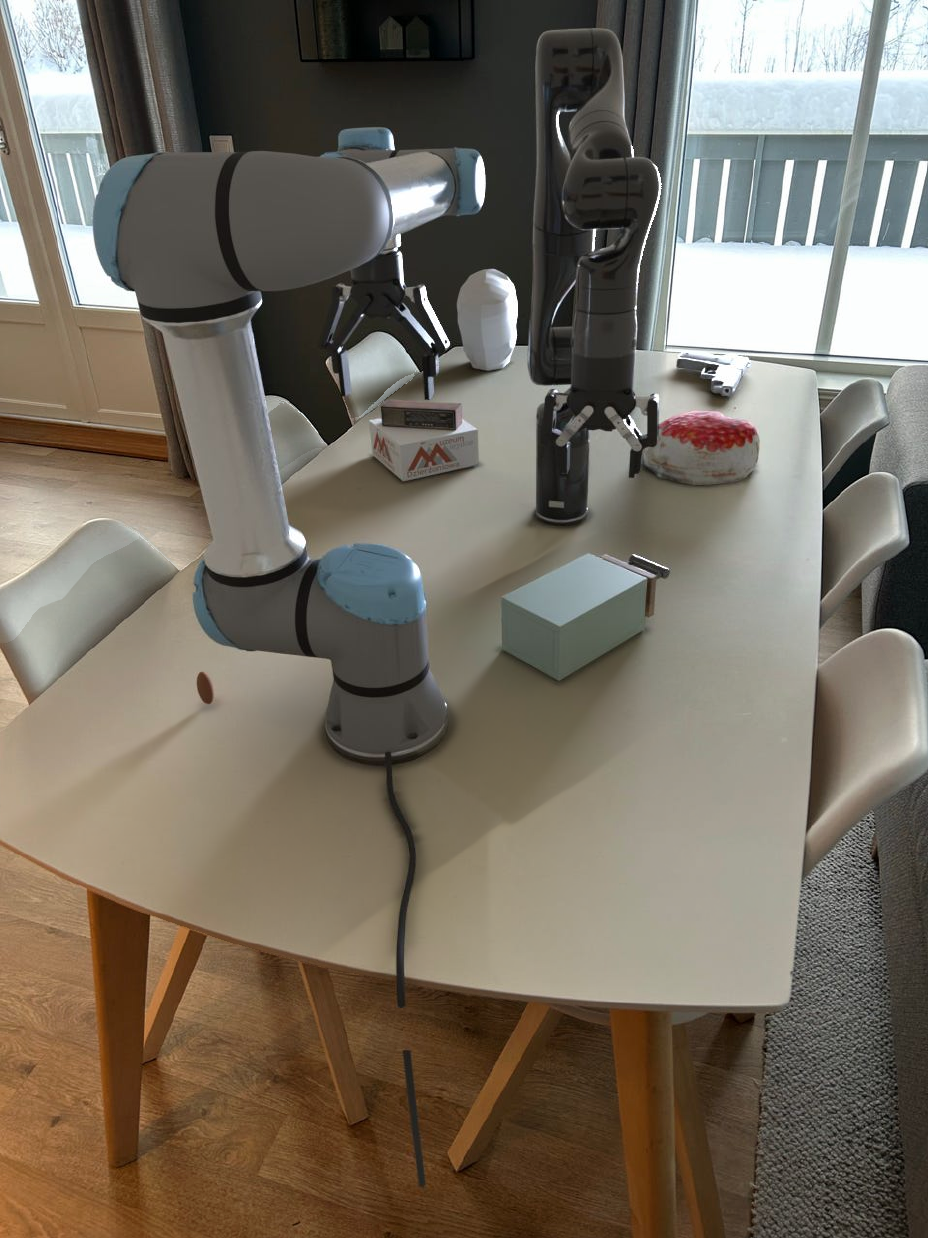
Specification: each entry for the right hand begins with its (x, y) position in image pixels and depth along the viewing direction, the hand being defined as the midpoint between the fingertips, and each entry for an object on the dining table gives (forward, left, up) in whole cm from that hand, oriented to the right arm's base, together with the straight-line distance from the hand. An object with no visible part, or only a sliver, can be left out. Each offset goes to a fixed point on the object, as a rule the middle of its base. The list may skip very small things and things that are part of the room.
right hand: (598, 473), depth 116 cm
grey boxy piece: (+1, -3, -25) cm, 25 cm away
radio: (-69, -30, -25) cm, 79 cm away
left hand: (-28, -30, +2) cm, 42 cm away
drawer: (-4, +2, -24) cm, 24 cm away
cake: (-65, +26, -25) cm, 74 cm away
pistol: (-119, +37, -25) cm, 127 cm away
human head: (-136, -18, -25) cm, 140 cm away
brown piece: (+15, -51, -25) cm, 59 cm away
